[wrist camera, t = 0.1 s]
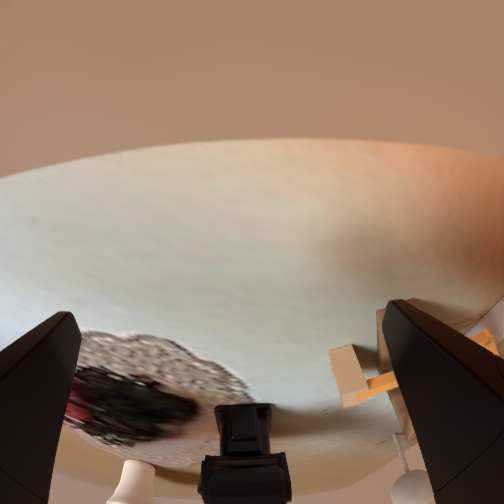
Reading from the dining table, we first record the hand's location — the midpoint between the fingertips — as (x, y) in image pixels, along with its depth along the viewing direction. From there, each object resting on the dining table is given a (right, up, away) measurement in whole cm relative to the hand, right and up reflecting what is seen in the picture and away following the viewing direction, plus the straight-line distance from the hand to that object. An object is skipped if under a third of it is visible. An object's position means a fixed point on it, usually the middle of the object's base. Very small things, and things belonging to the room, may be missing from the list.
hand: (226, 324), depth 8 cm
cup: (-19, -35, +34) cm, 52 cm away
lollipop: (+24, -28, +33) cm, 49 cm away
